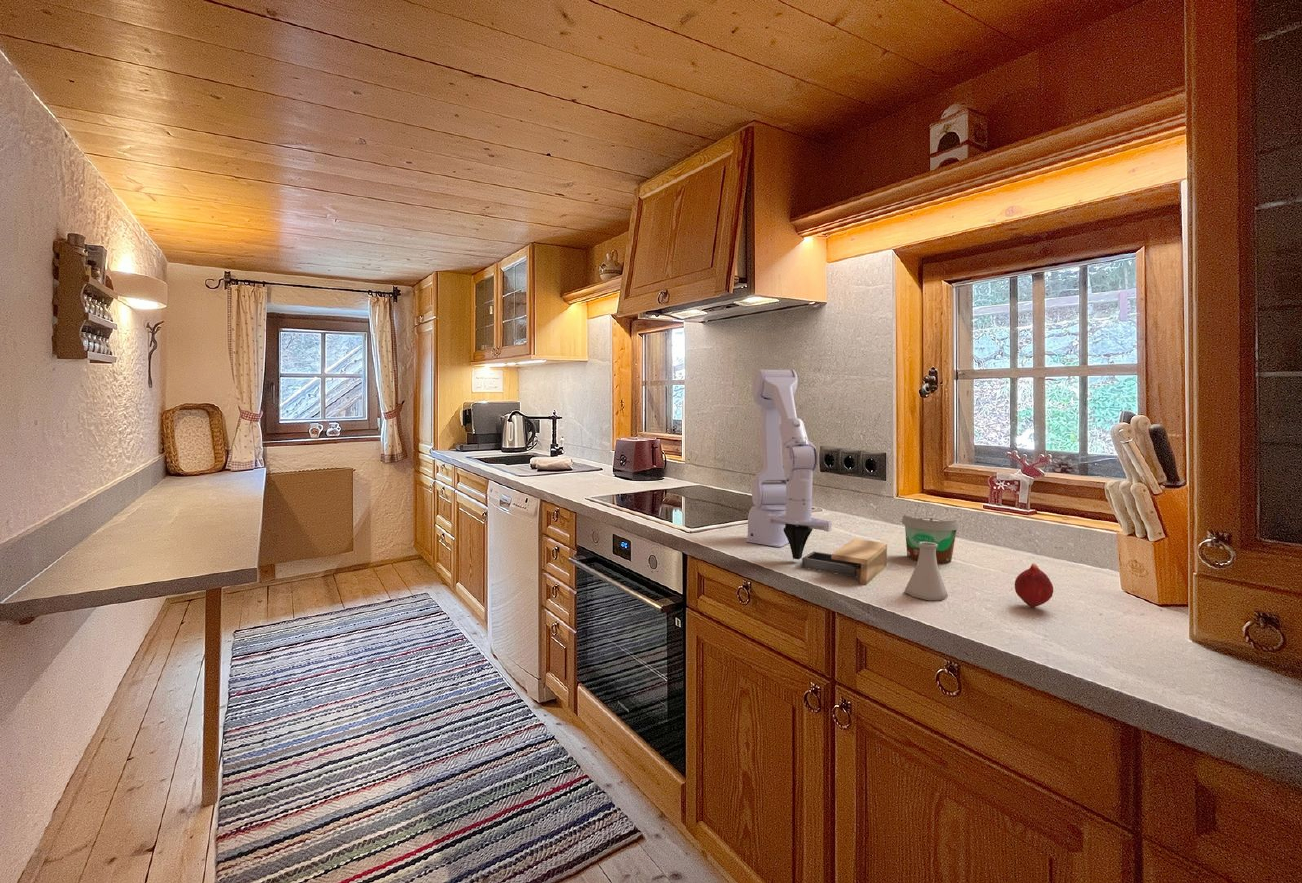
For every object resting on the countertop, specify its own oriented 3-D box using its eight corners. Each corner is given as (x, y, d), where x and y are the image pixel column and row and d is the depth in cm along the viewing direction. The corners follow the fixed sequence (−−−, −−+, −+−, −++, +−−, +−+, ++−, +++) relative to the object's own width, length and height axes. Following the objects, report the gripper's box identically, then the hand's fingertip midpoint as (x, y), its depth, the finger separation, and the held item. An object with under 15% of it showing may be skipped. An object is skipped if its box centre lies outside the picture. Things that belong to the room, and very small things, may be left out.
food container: (897, 561, 137) (899, 518, 136) (900, 554, 142) (902, 513, 141) (958, 568, 131) (960, 523, 130) (958, 561, 136) (960, 518, 135)
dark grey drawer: (802, 569, 131) (802, 558, 131) (813, 562, 137) (813, 551, 137) (857, 579, 124) (857, 567, 124) (866, 571, 130) (867, 560, 130)
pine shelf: (830, 578, 124) (831, 554, 123) (853, 560, 137) (854, 538, 136) (866, 584, 120) (867, 559, 119) (886, 565, 133) (887, 543, 132)
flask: (929, 604, 109) (932, 550, 108) (896, 592, 115) (898, 541, 114) (955, 598, 112) (958, 545, 111) (922, 586, 119) (924, 537, 118)
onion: (1059, 611, 105) (1062, 567, 105) (1034, 614, 104) (1037, 569, 103) (1030, 600, 111) (1033, 558, 110) (1005, 603, 109) (1008, 560, 109)
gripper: (761, 497, 135) (760, 556, 136) (824, 505, 127) (823, 567, 128) (773, 493, 140) (772, 550, 142) (835, 500, 132) (833, 560, 133)
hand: (797, 558), depth 135 cm, fingers closed
